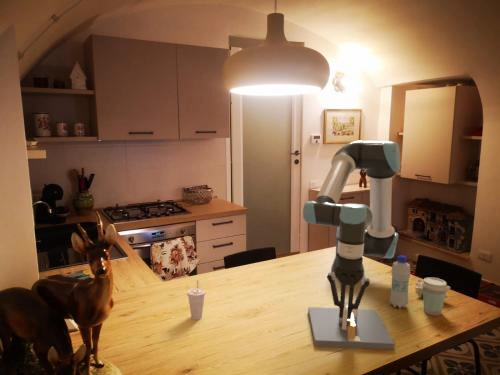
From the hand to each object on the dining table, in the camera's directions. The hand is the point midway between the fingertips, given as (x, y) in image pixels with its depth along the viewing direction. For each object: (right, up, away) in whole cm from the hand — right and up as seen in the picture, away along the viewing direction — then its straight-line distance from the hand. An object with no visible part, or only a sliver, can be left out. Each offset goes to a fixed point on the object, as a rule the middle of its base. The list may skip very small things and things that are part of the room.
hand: (344, 327), depth 116 cm
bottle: (+27, -2, +26) cm, 38 cm away
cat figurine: (+43, -1, +33) cm, 55 cm away
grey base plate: (+3, -4, +9) cm, 10 cm away
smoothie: (-49, -2, +16) cm, 51 cm away
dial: (+2, -2, +4) cm, 5 cm away
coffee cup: (+38, -3, +22) cm, 44 cm away
